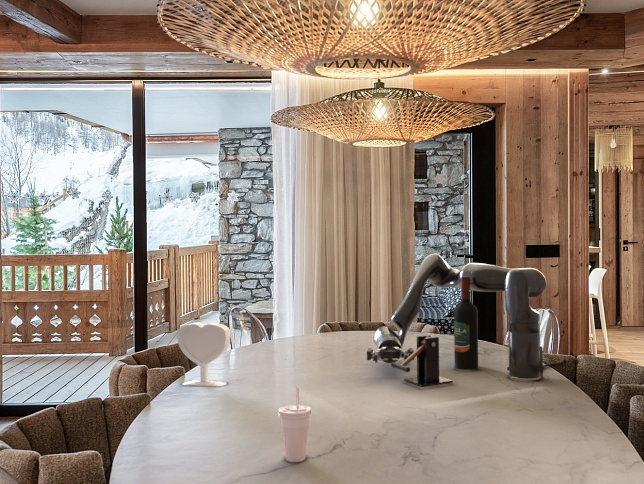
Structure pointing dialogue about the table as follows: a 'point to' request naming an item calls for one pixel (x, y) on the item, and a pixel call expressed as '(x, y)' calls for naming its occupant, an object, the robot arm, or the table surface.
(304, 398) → the table surface
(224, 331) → the heart sculpture
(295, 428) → the smoothie
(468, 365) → the wine bottle
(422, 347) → the lever
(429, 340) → the bracket
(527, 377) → the robot arm
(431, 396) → the table surface
